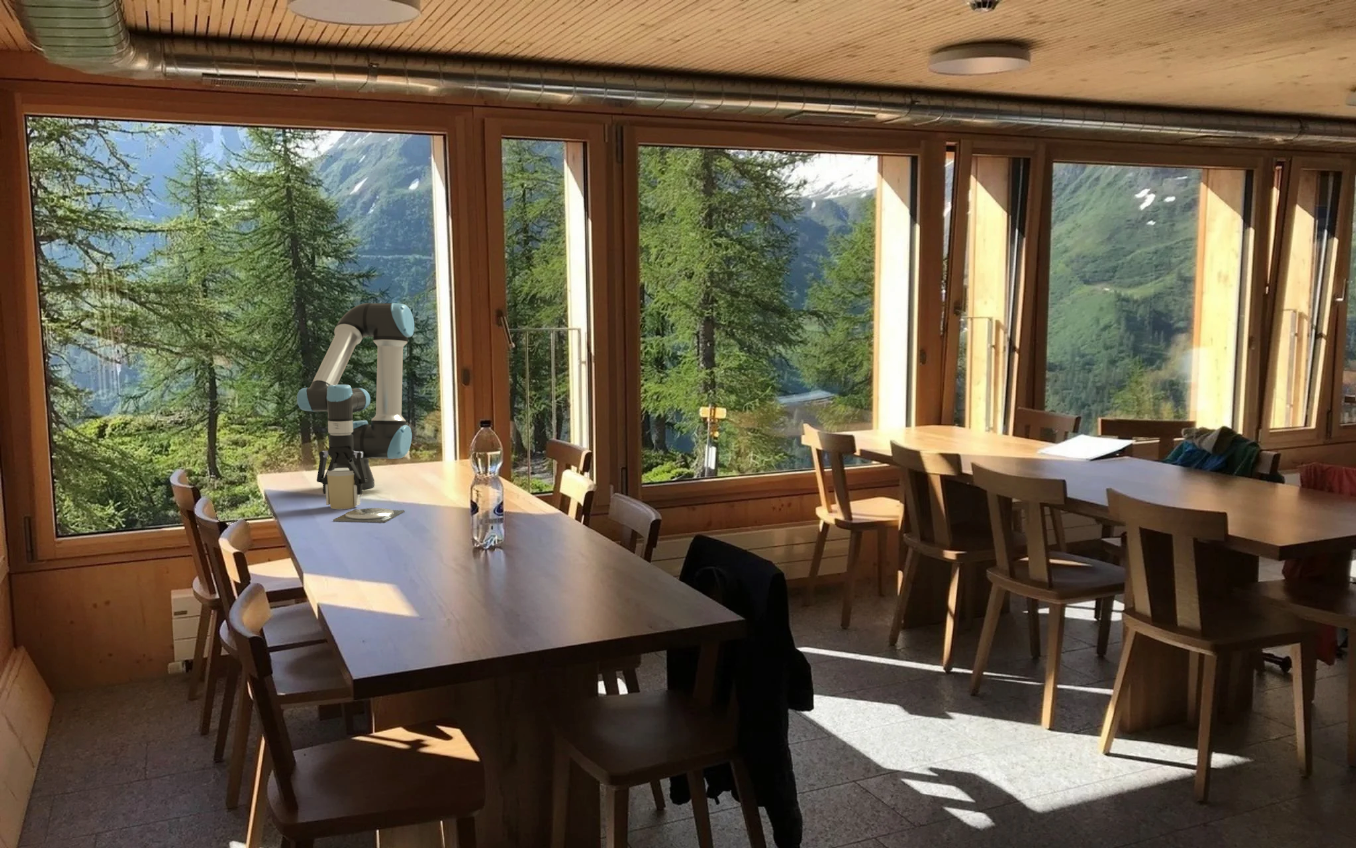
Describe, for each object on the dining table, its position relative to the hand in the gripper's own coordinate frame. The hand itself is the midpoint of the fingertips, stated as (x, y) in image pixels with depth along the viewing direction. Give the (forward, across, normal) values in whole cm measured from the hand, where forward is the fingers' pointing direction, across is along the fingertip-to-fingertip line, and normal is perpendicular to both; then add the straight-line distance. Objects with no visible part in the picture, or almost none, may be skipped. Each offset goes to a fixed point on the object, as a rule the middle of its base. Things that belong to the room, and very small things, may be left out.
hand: (343, 504), depth 333 cm
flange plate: (+1, +14, -13) cm, 19 cm away
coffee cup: (+1, 0, 0) cm, 1 cm away
